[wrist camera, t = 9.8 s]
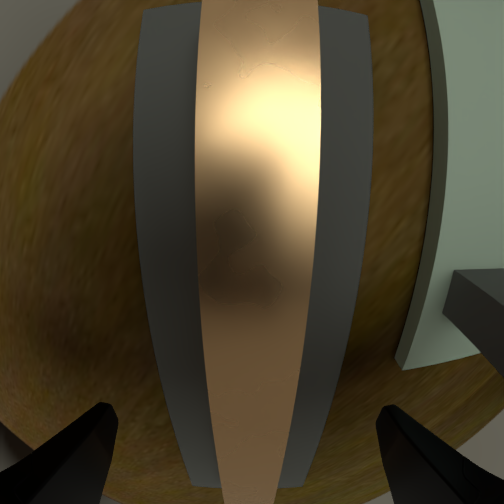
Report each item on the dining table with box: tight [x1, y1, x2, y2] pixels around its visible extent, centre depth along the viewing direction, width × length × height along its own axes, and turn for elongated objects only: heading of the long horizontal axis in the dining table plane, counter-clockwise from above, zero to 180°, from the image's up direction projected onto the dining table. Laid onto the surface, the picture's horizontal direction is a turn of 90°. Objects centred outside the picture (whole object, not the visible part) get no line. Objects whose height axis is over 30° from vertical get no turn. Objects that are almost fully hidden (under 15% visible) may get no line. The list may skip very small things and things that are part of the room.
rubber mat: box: [133, 2, 373, 488], centre depth 12 cm, size 27×8×1 cm, turn 179°
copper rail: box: [195, 0, 321, 504], centre depth 10 cm, size 24×3×3 cm, turn 179°
